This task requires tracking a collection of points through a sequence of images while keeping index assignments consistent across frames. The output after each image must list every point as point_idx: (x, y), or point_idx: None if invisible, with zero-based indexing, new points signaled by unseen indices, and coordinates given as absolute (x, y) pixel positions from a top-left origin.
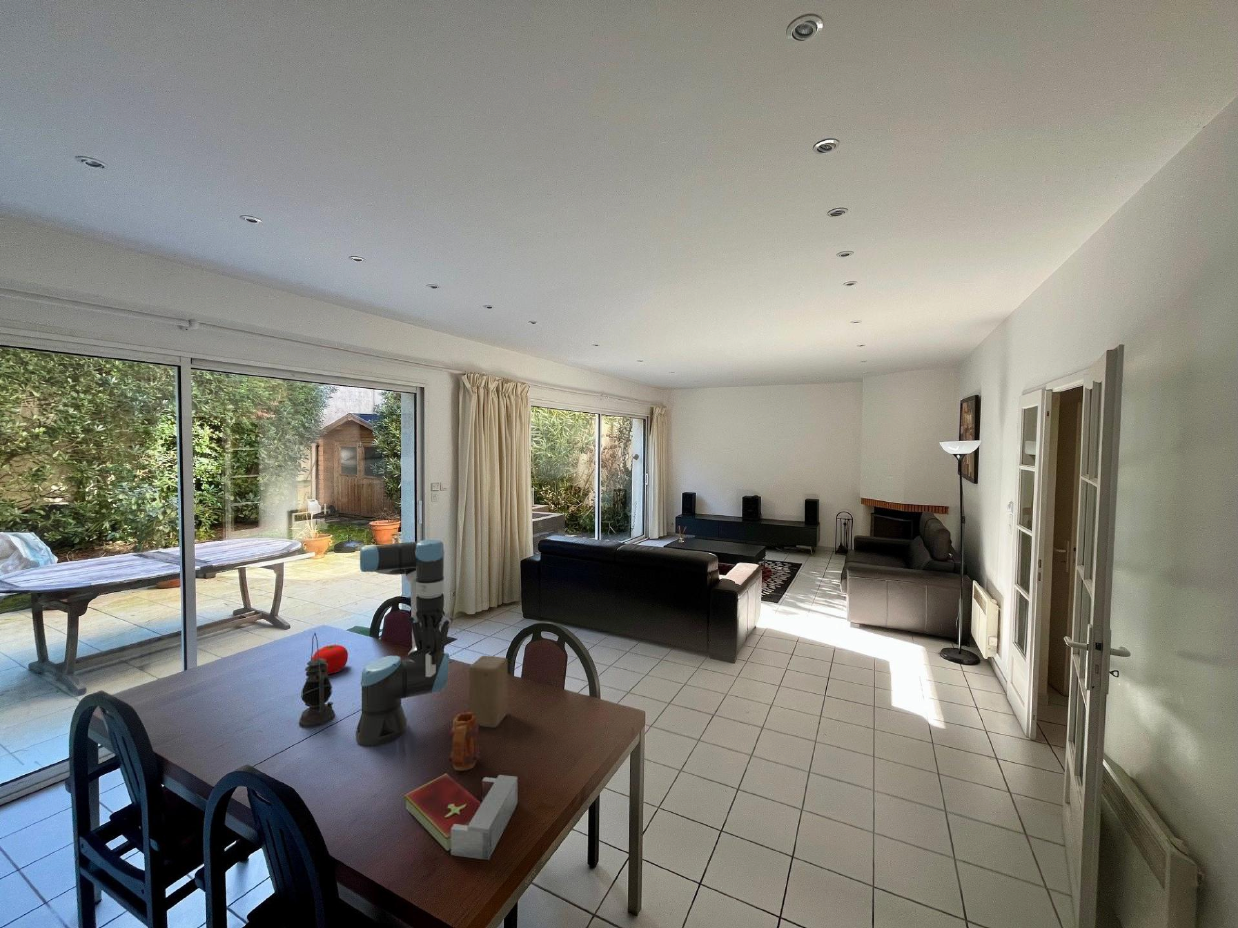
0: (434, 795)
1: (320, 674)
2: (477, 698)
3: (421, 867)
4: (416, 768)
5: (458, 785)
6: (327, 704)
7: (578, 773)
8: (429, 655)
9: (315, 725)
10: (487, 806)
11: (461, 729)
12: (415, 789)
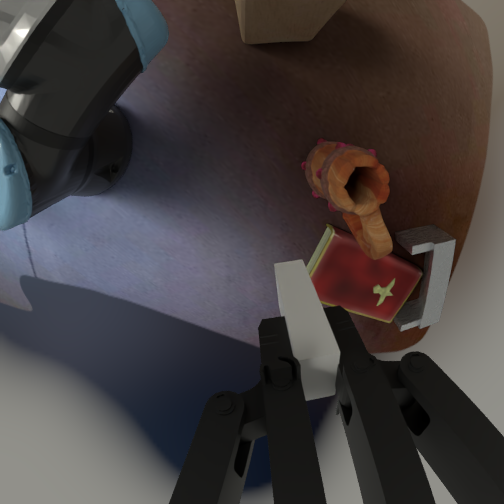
0: (343, 280)
1: None
2: (274, 21)
3: (366, 332)
4: (242, 204)
5: None
6: None
7: (477, 148)
8: (327, 391)
9: None
10: (433, 299)
11: (390, 250)
12: None
